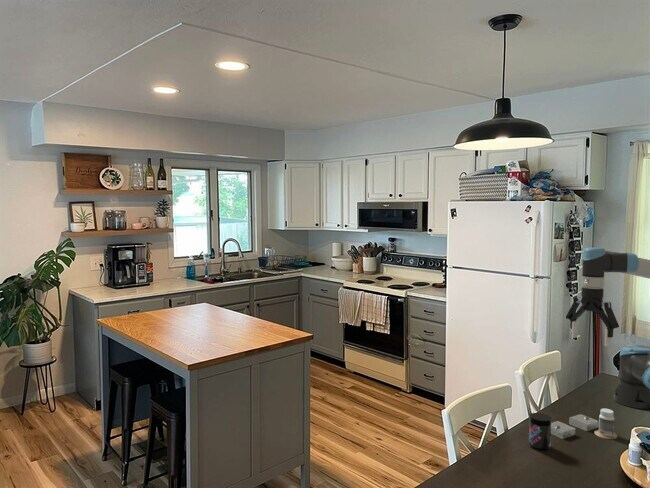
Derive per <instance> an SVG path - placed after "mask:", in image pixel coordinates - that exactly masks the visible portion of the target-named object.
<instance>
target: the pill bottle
mask: <svg viewBox="0 0 650 488" xmlns="http://www.w3.org/2000/svg"><path fill="white" fill-rule="evenodd" d="M599 411H600V414H599V416H598V417H599V419H598V430H599V433H600V434H602V435H605V436H613V435H614V433H615V416H614V414H615V413H614V411H613V410H612V409H609V408H605V407H604V408H600V410H599Z"/></svg>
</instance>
